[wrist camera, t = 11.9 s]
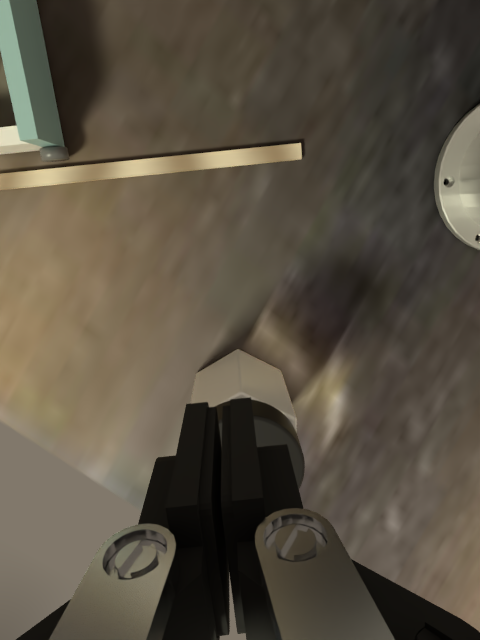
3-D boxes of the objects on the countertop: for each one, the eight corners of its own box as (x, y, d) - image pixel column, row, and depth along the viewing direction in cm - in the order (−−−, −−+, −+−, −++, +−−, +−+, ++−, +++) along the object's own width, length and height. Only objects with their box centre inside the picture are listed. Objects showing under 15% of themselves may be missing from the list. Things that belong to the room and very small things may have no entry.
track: (282, -153, 30) (283, -158, 29) (301, 159, 35) (301, 159, 35) (-184, -106, 30) (-189, -110, 29) (-95, 200, 35) (-98, 200, 34)
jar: (192, 349, 39) (177, 412, 27) (282, 346, 39) (305, 407, 28) (197, 438, 41) (186, 530, 30) (282, 435, 41) (304, 525, 30)
